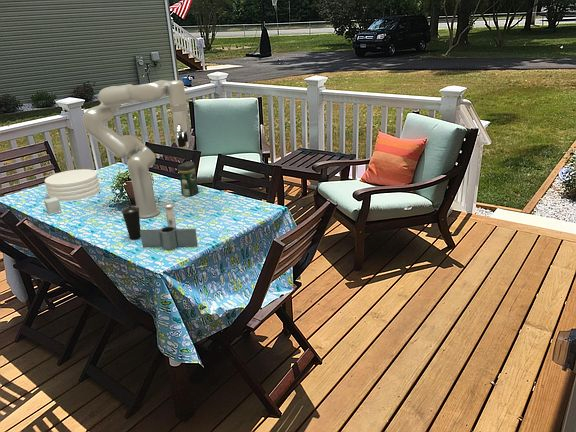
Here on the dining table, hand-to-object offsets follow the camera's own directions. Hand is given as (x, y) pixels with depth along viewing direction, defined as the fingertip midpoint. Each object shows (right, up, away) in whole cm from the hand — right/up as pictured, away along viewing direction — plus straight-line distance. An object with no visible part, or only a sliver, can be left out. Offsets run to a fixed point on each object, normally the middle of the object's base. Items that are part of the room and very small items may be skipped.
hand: (183, 144), depth 226 cm
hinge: (-1, -47, -21) cm, 52 cm away
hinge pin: (-2, -43, -10) cm, 44 cm away
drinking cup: (-20, -44, -10) cm, 49 cm away
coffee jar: (-6, -22, +43) cm, 48 cm away
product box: (-74, -33, +25) cm, 84 cm away
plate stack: (-74, -22, +51) cm, 93 cm away
